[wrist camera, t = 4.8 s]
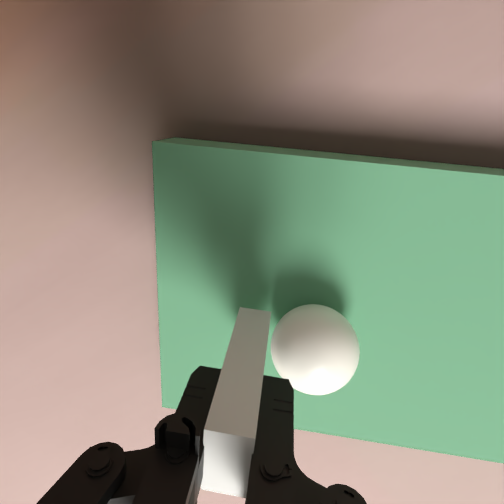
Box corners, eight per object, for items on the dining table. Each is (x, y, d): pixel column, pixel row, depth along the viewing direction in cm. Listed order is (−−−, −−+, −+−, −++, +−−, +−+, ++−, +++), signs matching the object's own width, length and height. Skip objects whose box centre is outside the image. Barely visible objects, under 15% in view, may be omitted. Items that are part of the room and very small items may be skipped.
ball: (276, 336, 12) (381, 355, 12) (279, 281, 16) (361, 295, 16) (261, 406, 14) (352, 423, 14) (267, 343, 18) (340, 356, 18)
